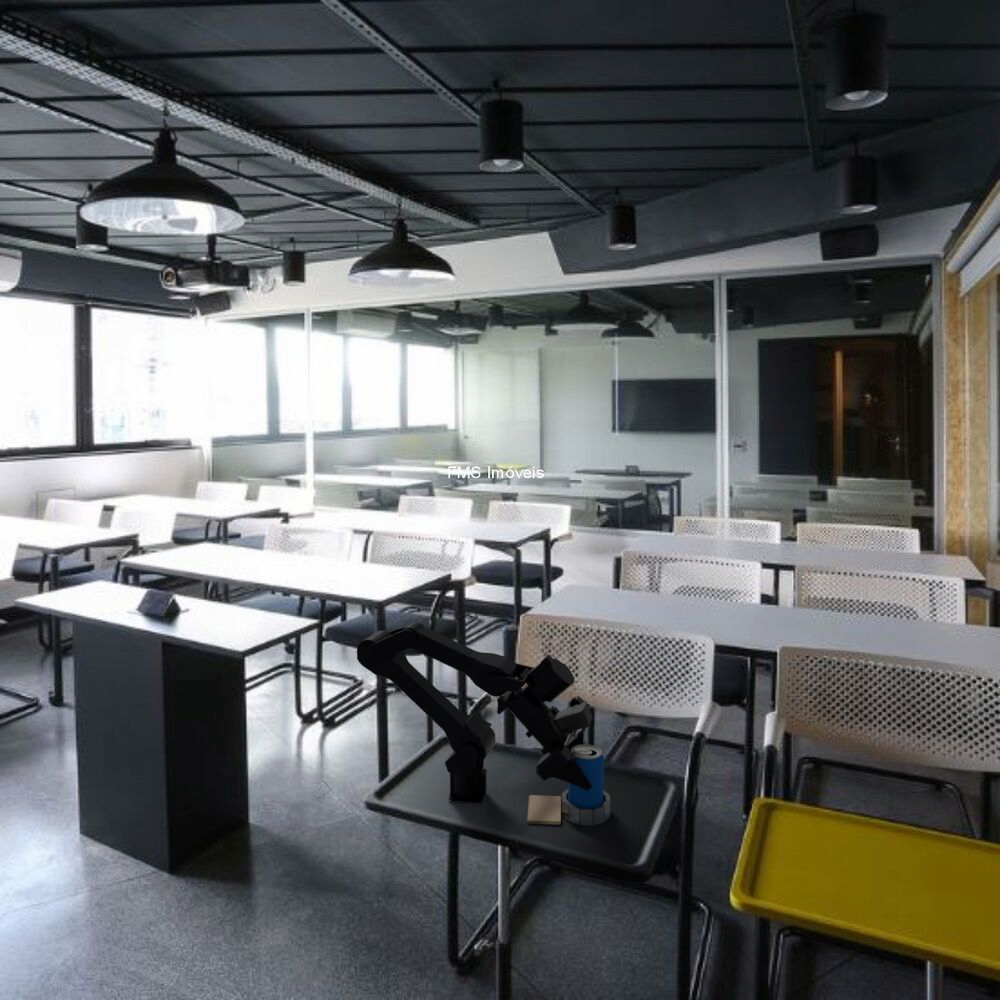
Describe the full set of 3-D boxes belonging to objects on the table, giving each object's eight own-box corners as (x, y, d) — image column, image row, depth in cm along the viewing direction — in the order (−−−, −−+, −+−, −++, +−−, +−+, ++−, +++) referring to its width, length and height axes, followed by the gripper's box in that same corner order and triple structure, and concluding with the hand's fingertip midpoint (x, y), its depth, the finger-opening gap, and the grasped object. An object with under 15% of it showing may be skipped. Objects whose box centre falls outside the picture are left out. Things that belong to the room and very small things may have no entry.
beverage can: (604, 821, 149) (606, 759, 147) (569, 821, 149) (569, 759, 147) (601, 803, 155) (602, 743, 154) (566, 803, 155) (567, 743, 154)
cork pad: (527, 823, 149) (527, 820, 148) (529, 798, 157) (529, 795, 157) (560, 824, 148) (560, 821, 148) (560, 799, 157) (560, 796, 157)
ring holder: (561, 824, 148) (561, 808, 148) (561, 799, 157) (562, 784, 156) (611, 826, 148) (611, 810, 147) (608, 801, 156) (608, 786, 156)
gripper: (554, 709, 141) (618, 778, 140) (575, 671, 159) (632, 733, 157) (510, 747, 144) (571, 815, 143) (535, 706, 162) (590, 766, 161)
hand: (593, 779), depth 151 cm, fingers closed on beverage can, 6 cm apart
